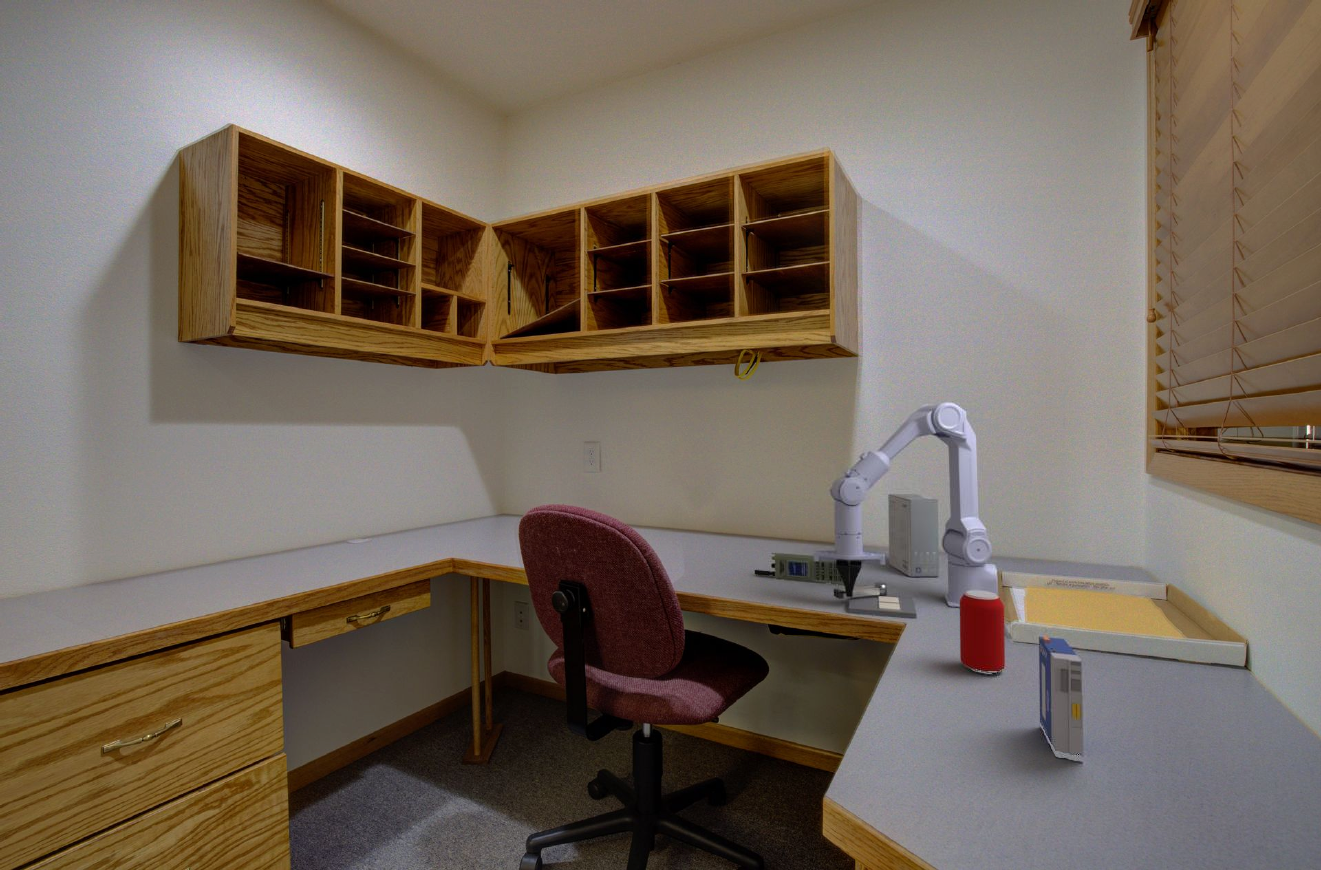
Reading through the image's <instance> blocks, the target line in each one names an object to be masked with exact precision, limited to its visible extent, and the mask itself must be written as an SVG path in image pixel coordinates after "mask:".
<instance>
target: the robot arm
mask: <svg viewBox="0 0 1321 870" xmlns="http://www.w3.org/2000/svg"><path fill="white" fill-rule="evenodd" d="M930 435H932V436H934V437H936V438H938V439H939V440H940V441H941V442H943V443H944V444H945V445H947V446H948V468H949V469H948V471H949V472H948V473H949V502H950V503H949V506H950V509H949V510H950V517H949V518H948V520H947V521H946V522H945V526H944V527H945V529H944V530H945V531H944V533H943V536H942V538H941V547H942V549H943V551H944V552H945V554H947V586H948V587H947V590H948V591H947V592H948V593H947V594H944V598H945V600H946V601H945V602H946V604H947V605H948V606H949V607H953V608H960V599H961V598H962V596H963V595H964V593H965V592H967V591H970V590H981V591H988V592H992V593H995V594H996V595H998V596H999V590H998V589H999V585H998V584H999V582H998V569H997V566H996V565H995V564H993V563H987V562H988V561H989V559H990V558H991V556H992V554H993V547H992V544H991V541H990V540H989V538H988V529H987V528H986V526H985V525H984V524H983V522H982V521H981V520H980V517H979V516H980V515H979V492H978V491H979V488H978V487H979V486H978V483H979V482H978V458H977V453H978V452H977V448H978V447H977V436H976V433H975V432H974V430H973V428H972V426H971V424H970V422H969V421H968V419H967V411H966V410H965V409H963V408H962V407H960V406H958V405H957V404H956V403H953V402H942V403H934V404H933V403H932V404H931V403H927V404H922V405H921V406H919V407H918V408H917V409H916V411H914V412H912V413H911V414H910V415H909V416H908V417H907V418H906V420H905V421H904V422H903V423H902V424H901V425H900V426H899V427H898V429H897V430H896V431H894V433H892V435H891V436H890V437H889V438H888V439H887V440H886V441H885V443H883V445H881V447H880V448H878V450H869V451H867V453H866V452H862V453H861V454H860V455H859V458H860V459H859V460H858V461H857V462H856V463H855V464H854V465H853V466H852V467H851V468H850V469H846V470H845V471H844V472H843V473H844V476H840V477H837V478H836V479H835V480H834V481H833V482H832V485H831V487H830V488H829V493H830V496H831V497H832V499H833V500H834V511H833V513H834V514H833V515H834V519H833V520H834V550H814V551H813V556H814V561H835V562H836V567H837V569H838V571H839V573H840V575H841V578H842V580H843V583H844V585H843V586H844V588H845V590H846V597H852V596H853V588H854V587H855V584H856V581H857V578H858V576H859V574H860V572H861V569H862V565H863V564H874V565H875V564H876V565H881V566H882V565H883V566H885V565H886V554H884V553H877V552H876V553H875V552H867V551H864V550H863V547H864V544H863V537H864V536H863V534H864V533H863V504H862V503H863V502H865V500H866V498H867V495H868V491H869V490H870V489H871V488H872V487H873V486H875V485H876V483H877V482H879V480H881V479H882V477H884V475H885V474H887V473H888V472H889V471H890V465H891V464H890V462H891V460H893V459H894V458H895V457H897V455H899V454H900V453H901V452H902V451H904V449H906V448H907V447H908V446H909V445H910V444H912V442H914V441H915V440H916V439H918V438H919V437H920V438H921V437H924V436H930ZM849 562H850V564H849ZM849 578H850V584H849Z"/></svg>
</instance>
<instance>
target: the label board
mask: <svg viewBox="0 0 1321 870" xmlns="http://www.w3.org/2000/svg"><path fill="white" fill-rule="evenodd" d="M913 598H914V597H913V596H912V595H897V594H887V595H885V596H880V595H871V596H861V597H850V598H849V601H848V602H849V604H848V614H857V615H866V614H867V615H868V616H869V615H870V616H881V617H892V618H902V619H903V618H904V619H915V618H917V609H916V607H915V602H914V599H913ZM917 619H918V618H917Z"/></svg>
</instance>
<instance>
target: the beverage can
mask: <svg viewBox="0 0 1321 870" xmlns="http://www.w3.org/2000/svg"><path fill="white" fill-rule="evenodd" d="M1005 644H1006V643H1005V605H1004V602H1003V601H1002V600H1001V598H1000V596H999V594H998V595H996V594H995V593H992V592H988V591H981V590H970V591H967V592H965V593H964V595H963V596H962V598H961V599H960V607H959V648H960V649H959V653H960V654H959V655H960V657H959V659H960V662H961V663H962V665H964V667H966V668H967V667H968V669H969V668H970V669H973V670H975V671H980V670H981V672H986V673H996V674H998V673H1001V672H1003V671H1004V669H1005V666H1006V664H1005V663H1006V662H1005V661H1006V660H1005V659H1006V658H1005V656H1006V655H1005V654H1006V652H1005V651H1006V649H1005V648H1006V647H1005V646H1006V645H1005ZM970 669H969V670H970ZM976 669H977V670H976ZM1002 669H1003V670H1002ZM1000 670H1001V671H1000ZM988 671H997V672H998V673H997V672H988Z"/></svg>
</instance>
